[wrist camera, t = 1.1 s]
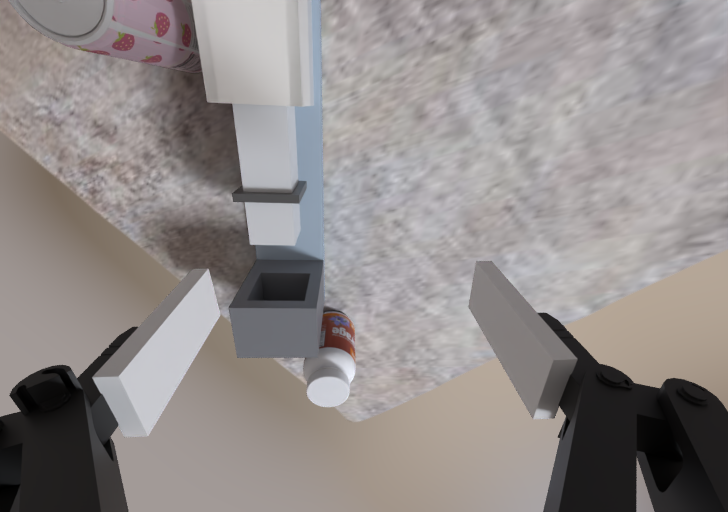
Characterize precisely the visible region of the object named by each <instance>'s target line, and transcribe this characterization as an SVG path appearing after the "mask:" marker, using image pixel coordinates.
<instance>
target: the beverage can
mask: <svg viewBox="0 0 728 512" xmlns="http://www.w3.org/2000/svg"><path fill="white" fill-rule="evenodd" d="M8 1H9V2H10V4H11V5H12V6H13V7H14V9H15V10H16V11H17V12H18V13H19V15H20V16H21V17H22V18H23V19H24V20H25V21H26V22H27V23H28V24H30V25H31V26H32V27H33V28H34V29H36V30H37V31H38V32H40V33H41V34H43V35H44V36H46V37H48V38H50V39H52V40H54V41H56V42H59V43H61V44H63V45H65V46H68V47H71V48H75V49H78V50H83V51H87V52H92V53H97V54H102V55H107V56H112V57H117V58H122V59H126V60H131V61H136V62H141V63H146V64H151V65H156V66H161V67H165V68H170V69H175V70H180V71H185V72H191V73H198V72H202V66H201V59H200V53H199V46H198V40H197V34H196V27H195V21H194V14H193V8H192V2H191V0H8Z"/></svg>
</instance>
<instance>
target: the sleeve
mask: <svg viewBox="0 0 728 512" xmlns="http://www.w3.org/2000/svg"><path fill="white" fill-rule="evenodd" d="M191 2H192V8H193V14H194V21H195V27H196V34H197V40H198V46H199V53H200V59H201V66H202V72H203V78H204V85H205V91H206V97H207V102H210V103H232V104H254V105H276V106H298V107H304V106H314V79H313V38H312V0H191Z"/></svg>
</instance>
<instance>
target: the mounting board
mask: <svg viewBox="0 0 728 512" xmlns="http://www.w3.org/2000/svg"><path fill="white" fill-rule="evenodd" d="M312 38H313V79H314V106H304V107H298V106H295V123H296V143H297V164H298V181H307V189H306V191H305V193H304V195H303V197H302V199H301V201H300V204H299V205H300V226H301V230H300V233H299V236H298V238H297V241H296V244H295V246H290V245H255V249H256V257H257V259H259V260H322V261H324V206H323V137H322V68H321V0H312ZM324 300H325V275H324Z"/></svg>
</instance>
